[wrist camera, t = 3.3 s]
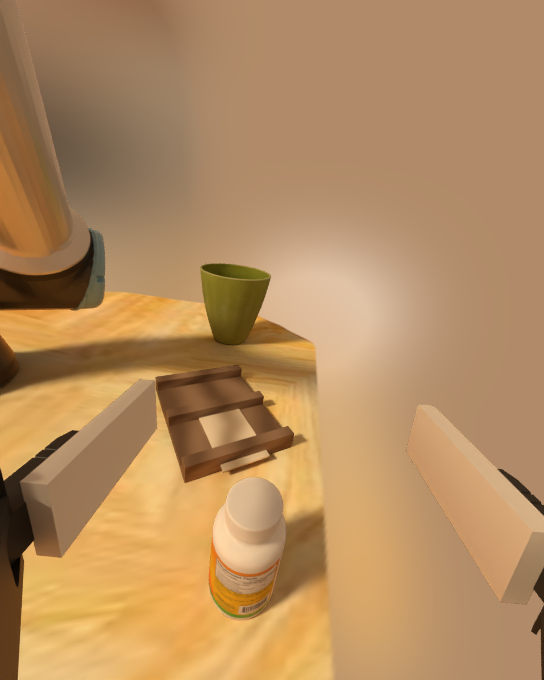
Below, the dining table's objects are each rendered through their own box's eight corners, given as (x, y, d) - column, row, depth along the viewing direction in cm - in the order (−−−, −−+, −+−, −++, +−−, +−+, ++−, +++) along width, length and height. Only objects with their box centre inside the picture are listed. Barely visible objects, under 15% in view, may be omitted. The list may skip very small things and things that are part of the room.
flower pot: (274, 341, 68) (284, 276, 62) (230, 359, 57) (237, 282, 50) (230, 322, 76) (235, 262, 69) (184, 334, 64) (185, 264, 58)
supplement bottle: (231, 533, 26) (241, 457, 22) (283, 565, 25) (304, 488, 21) (194, 596, 22) (198, 514, 18) (254, 640, 20) (274, 560, 16)
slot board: (187, 490, 30) (187, 475, 29) (155, 389, 45) (155, 377, 44) (295, 452, 37) (298, 438, 36) (236, 375, 52) (238, 364, 51)
